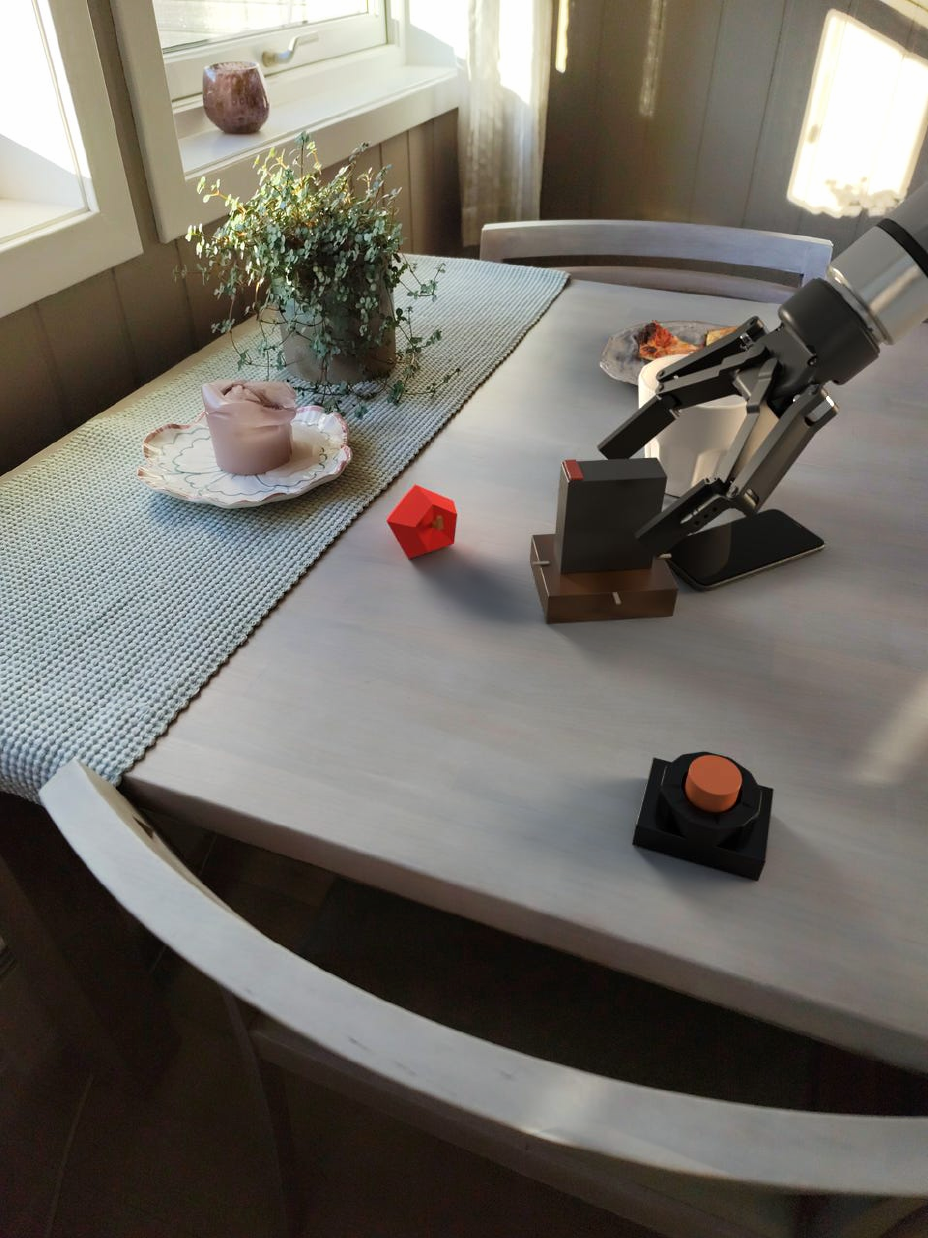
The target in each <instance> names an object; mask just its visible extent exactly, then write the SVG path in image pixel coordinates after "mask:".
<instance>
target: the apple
mask: <svg viewBox="0 0 928 1238" xmlns="http://www.w3.org/2000/svg"><path fill="white" fill-rule="evenodd" d="M398 502H399V503H398V504H396V506H395V507H394V508H393V510H392V511H391V512H390V514H388V516H387V518H386V523H387V524H388V527H389V528H390V530H391V531H392V534H393V535H394V537H395V539H396V540H397V542H398V544H399V546H400V548H401V550H402V551H403V552H404V554H405V556H406V558H407V560H409V559H412V558H416V557H420V556H423V555H426V554H429V553H432V552H435V551H438V550H441V549H444V548H445V549H446V548H448V547H450V546H452V545H454V544H455V541H456V531H457V521H458V512H457V508H456V505H455V501H454V500H452V499H450V498H447V497H445V496H443V495H441V494H438V493H436V492H434V491H431V490H429V489H427V488H425V487H422V486H420V485H418V484H414V485H413V486H412V487H411V488H410V489H409V490H408V491H407V492H406V493H405V495H404V496H403V497H402V498H401V499H400V501H398Z"/></svg>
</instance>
